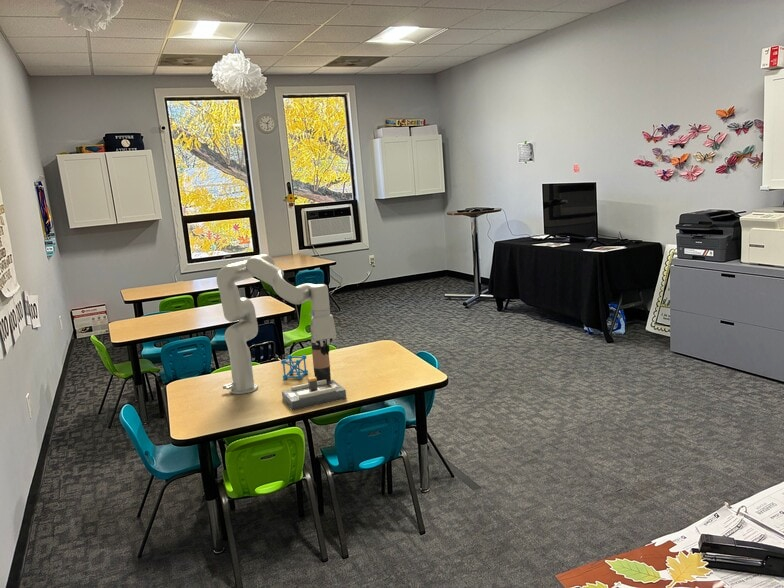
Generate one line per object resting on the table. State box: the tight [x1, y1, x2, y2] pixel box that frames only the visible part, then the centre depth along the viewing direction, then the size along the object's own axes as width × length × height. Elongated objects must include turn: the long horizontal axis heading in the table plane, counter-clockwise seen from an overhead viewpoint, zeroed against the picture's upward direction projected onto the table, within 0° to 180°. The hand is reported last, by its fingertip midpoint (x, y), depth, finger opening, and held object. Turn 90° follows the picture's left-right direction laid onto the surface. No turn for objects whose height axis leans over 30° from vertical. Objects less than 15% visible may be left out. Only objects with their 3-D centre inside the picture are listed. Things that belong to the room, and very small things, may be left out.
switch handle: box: [307, 375, 318, 391], centre depth 257 cm, size 3×3×5 cm
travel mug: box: [311, 340, 332, 381], centre depth 275 cm, size 8×8×20 cm
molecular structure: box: [280, 354, 309, 380], centre depth 290 cm, size 10×10×10 cm
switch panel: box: [281, 379, 347, 411], centre depth 257 cm, size 24×16×5 cm, turn 115°
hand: (325, 353), depth 257 cm, fingers closed
